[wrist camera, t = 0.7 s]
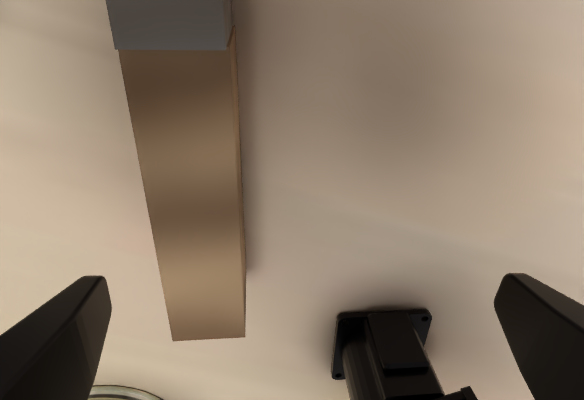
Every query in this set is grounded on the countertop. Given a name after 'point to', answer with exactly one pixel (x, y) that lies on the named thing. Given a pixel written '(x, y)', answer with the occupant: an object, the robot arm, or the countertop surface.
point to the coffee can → (119, 393)
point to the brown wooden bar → (188, 155)
